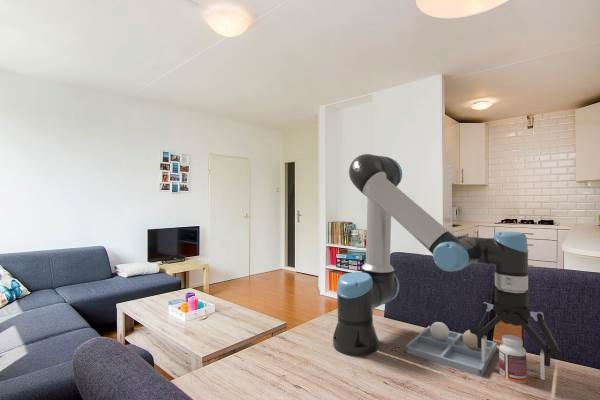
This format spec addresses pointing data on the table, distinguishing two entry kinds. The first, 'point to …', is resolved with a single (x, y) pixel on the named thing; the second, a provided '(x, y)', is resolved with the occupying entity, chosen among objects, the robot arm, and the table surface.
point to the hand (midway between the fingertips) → (512, 368)
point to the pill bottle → (512, 359)
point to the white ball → (439, 331)
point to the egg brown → (470, 340)
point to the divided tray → (450, 352)
